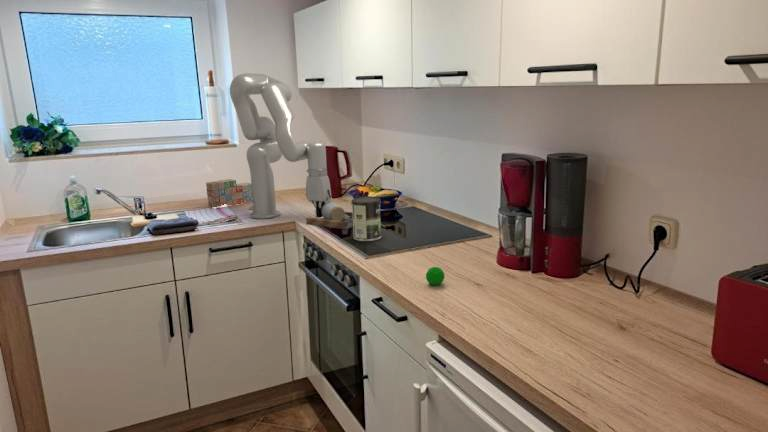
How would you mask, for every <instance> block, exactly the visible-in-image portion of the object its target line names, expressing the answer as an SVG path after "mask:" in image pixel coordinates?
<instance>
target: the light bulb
mask: <svg viewBox="0 0 768 432" xmlns="http://www.w3.org/2000/svg"><path fill="white" fill-rule="evenodd" d="M345 212H346V211H345V209H344V208H343V207H342V206H341V205H339V204H337V203H336V202H331V203H329V204H324V206H323V207H322V216H323V217H322V218H323V219H325V220H332V221H340V222H343V220H345V221H346V220H349V219H350V216H348V215H345Z"/></svg>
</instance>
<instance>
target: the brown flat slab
mask: <svg viewBox="0 0 768 432" xmlns="http://www.w3.org/2000/svg"><path fill="white" fill-rule="evenodd" d="M345 215H348V216H350V219H349V220H346V219H345V220H344V221H343V220H342V221H341V222H340V221H332V220H326V219H325V218H323V219H322V218H318V217H316V218H315V217H308V216H307V217H305V224H307V225H311V226H318V227H325V228H332V229H341V230H349V229H351V228H353V214H352V211H345Z"/></svg>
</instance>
